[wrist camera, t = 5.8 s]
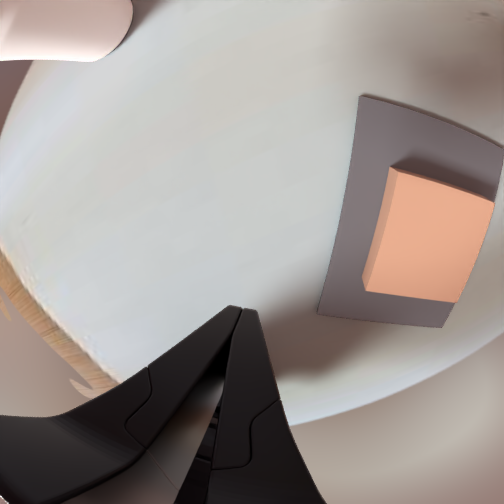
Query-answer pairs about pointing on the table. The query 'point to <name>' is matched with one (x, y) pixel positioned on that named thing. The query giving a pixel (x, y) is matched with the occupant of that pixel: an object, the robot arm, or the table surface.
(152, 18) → the table surface
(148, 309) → the table surface
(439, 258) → the tile
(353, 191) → the mat
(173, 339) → the table surface
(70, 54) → the can
